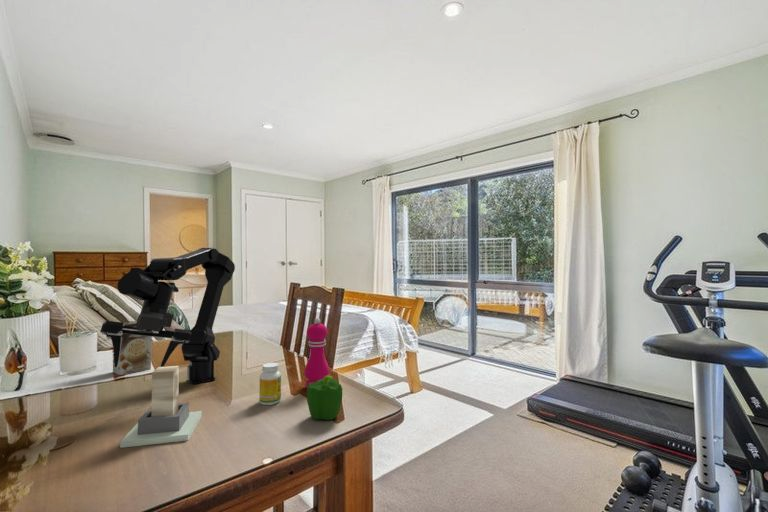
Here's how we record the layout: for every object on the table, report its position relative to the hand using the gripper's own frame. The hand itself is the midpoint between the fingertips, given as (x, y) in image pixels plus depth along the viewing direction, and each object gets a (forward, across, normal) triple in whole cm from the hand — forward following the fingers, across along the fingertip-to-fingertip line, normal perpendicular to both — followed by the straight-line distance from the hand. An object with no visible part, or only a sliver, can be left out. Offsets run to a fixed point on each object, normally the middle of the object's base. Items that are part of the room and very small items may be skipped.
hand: (138, 368), depth 87 cm
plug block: (+11, +8, -11) cm, 18 cm away
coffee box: (0, -2, +43) cm, 43 cm away
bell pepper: (+9, +40, -22) cm, 46 cm away
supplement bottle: (+6, +31, -7) cm, 32 cm away
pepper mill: (+2, +45, -3) cm, 45 cm away
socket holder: (+12, +8, -11) cm, 18 cm away
